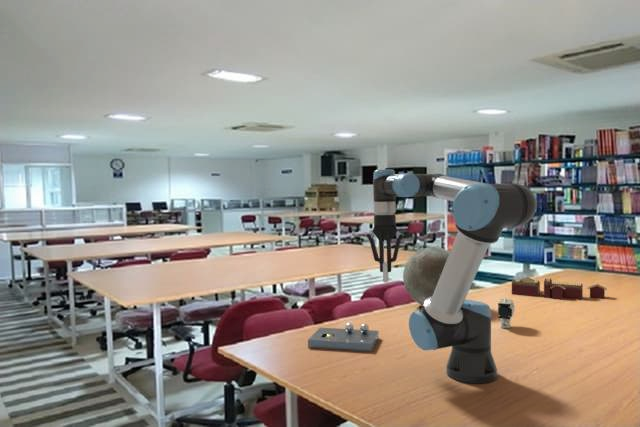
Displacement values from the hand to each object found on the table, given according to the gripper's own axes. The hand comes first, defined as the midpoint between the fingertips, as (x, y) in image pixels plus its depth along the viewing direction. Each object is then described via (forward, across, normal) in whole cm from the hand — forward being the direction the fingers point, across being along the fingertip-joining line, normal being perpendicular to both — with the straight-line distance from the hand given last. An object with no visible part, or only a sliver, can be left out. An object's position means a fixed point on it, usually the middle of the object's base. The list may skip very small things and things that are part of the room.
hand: (385, 281), depth 169 cm
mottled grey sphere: (+27, -13, -78) cm, 83 cm away
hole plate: (+26, +18, -12) cm, 34 cm away
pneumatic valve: (+27, -44, -46) cm, 69 cm away
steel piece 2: (+22, +11, -16) cm, 29 cm away
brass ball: (+25, +23, -10) cm, 35 cm away
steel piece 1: (+22, +17, -16) cm, 32 cm away
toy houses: (+27, -77, -117) cm, 143 cm away
